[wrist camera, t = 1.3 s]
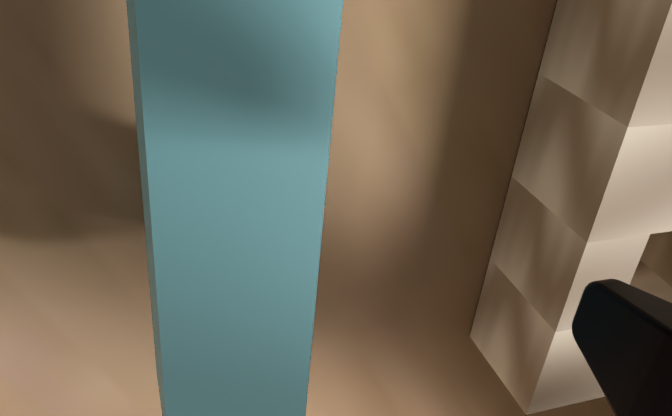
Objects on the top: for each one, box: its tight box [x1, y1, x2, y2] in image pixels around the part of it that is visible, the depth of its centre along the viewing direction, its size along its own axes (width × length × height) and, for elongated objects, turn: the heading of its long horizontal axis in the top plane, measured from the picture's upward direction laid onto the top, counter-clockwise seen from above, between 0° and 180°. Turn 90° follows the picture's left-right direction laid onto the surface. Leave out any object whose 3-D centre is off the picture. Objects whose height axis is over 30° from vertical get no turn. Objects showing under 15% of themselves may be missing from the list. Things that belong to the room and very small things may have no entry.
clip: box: [126, 0, 343, 416], centre depth 14 cm, size 13×3×6 cm, turn 174°
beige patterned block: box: [470, 0, 672, 415], centre depth 20 cm, size 18×8×4 cm, turn 174°
